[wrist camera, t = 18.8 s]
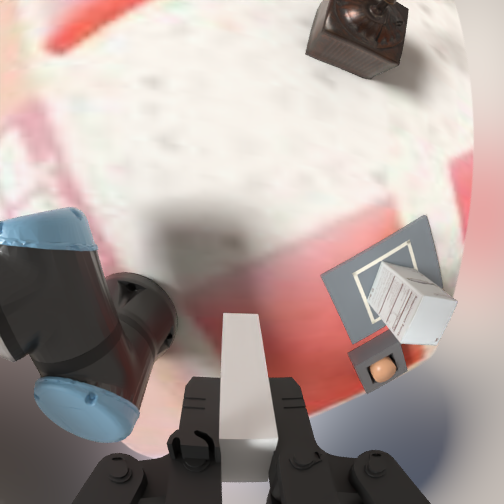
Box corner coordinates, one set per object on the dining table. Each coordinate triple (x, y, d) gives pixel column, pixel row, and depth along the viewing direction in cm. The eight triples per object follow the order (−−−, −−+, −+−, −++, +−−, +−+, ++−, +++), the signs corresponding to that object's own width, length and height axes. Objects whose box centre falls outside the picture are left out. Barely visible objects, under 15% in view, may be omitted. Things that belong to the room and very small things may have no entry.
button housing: (360, 380, 52) (366, 394, 48) (347, 353, 49) (354, 366, 46) (398, 358, 51) (407, 370, 47) (389, 328, 48) (399, 340, 45)
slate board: (351, 341, 49) (353, 344, 48) (320, 275, 44) (321, 277, 43) (440, 286, 47) (443, 288, 46) (423, 214, 42) (426, 216, 41)
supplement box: (415, 267, 44) (460, 301, 32) (399, 306, 46) (437, 347, 34) (380, 258, 43) (424, 294, 31) (364, 301, 45) (400, 345, 33)
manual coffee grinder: (373, 83, 35) (449, 54, 18) (302, 55, 34) (348, -3, 17) (388, 9, 31) (450, -35, 14) (324, -19, 29) (366, -82, 12)
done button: (369, 372, 50) (377, 386, 46) (364, 358, 49) (371, 372, 45) (389, 361, 50) (398, 374, 46) (384, 346, 48) (393, 359, 44)
